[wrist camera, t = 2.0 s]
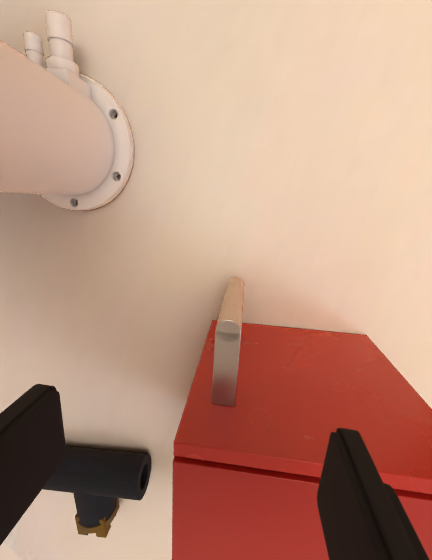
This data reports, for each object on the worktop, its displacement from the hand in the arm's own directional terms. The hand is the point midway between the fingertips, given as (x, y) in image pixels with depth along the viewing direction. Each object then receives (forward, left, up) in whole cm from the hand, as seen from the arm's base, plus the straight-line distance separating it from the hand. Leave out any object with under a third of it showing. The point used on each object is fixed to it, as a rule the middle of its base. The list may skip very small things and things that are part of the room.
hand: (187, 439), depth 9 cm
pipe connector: (+32, -17, -22) cm, 42 cm away
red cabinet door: (+3, +7, -21) cm, 23 cm away
